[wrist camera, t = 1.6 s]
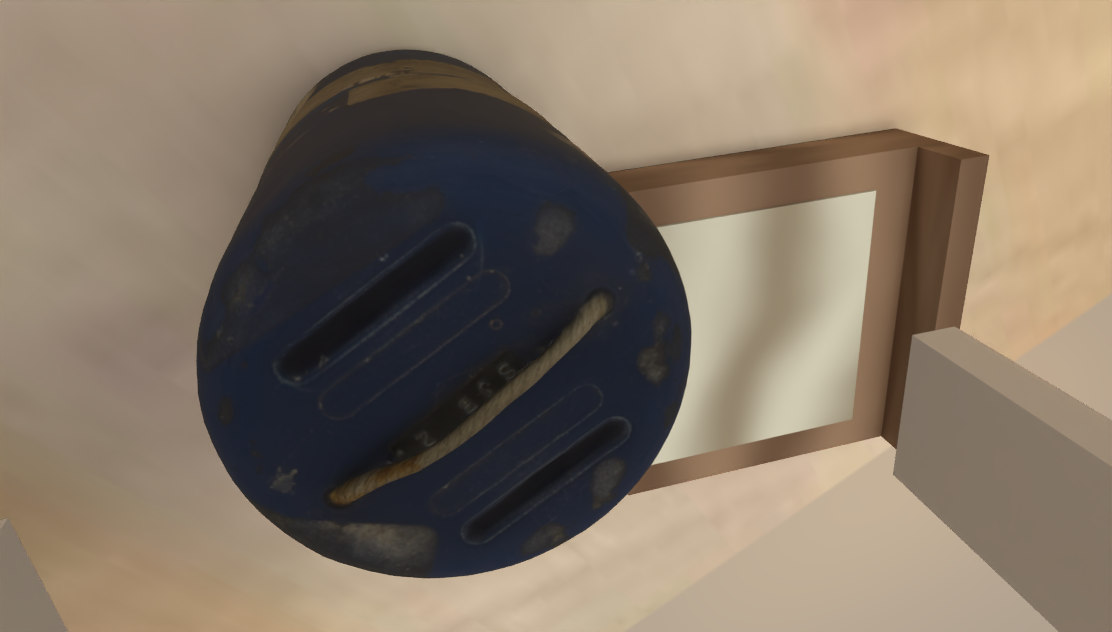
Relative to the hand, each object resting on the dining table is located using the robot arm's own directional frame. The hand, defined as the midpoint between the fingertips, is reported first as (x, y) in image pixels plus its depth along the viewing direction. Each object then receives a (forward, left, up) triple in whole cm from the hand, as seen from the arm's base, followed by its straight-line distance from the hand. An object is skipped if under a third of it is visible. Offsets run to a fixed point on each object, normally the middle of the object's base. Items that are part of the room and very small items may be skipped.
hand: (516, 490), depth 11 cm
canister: (0, 0, -20) cm, 20 cm away
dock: (+14, -8, -20) cm, 25 cm away
